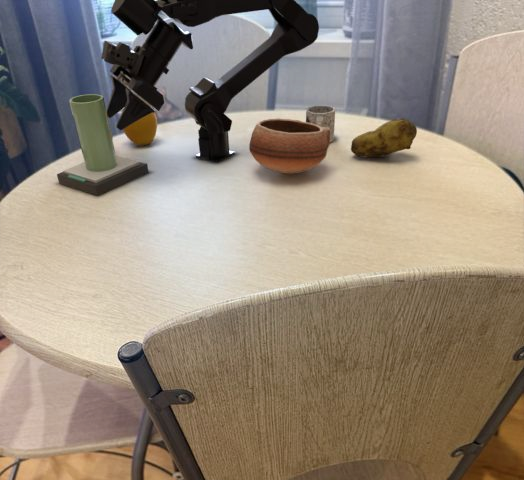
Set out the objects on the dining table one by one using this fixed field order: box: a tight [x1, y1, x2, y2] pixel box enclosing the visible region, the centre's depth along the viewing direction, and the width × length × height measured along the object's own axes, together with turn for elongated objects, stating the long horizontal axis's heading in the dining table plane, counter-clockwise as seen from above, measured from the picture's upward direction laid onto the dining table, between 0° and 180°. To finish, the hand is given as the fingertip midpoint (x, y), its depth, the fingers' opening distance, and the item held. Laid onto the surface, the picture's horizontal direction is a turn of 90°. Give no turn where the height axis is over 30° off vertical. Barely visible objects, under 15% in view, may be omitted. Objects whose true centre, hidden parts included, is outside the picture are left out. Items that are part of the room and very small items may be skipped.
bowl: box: [248, 118, 331, 174], centre depth 108 cm, size 16×16×10 cm
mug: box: [305, 104, 336, 143], centre depth 122 cm, size 10×7×7 cm, turn 172°
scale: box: [56, 154, 150, 197], centre depth 111 cm, size 14×12×3 cm
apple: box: [120, 109, 158, 147], centre depth 125 cm, size 8×8×9 cm
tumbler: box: [69, 93, 117, 172], centre depth 106 cm, size 6×6×13 cm
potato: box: [350, 118, 418, 158], centre depth 113 cm, size 8×13×8 cm, turn 63°
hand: (112, 122), depth 106 cm, fingers open, 9 cm apart
